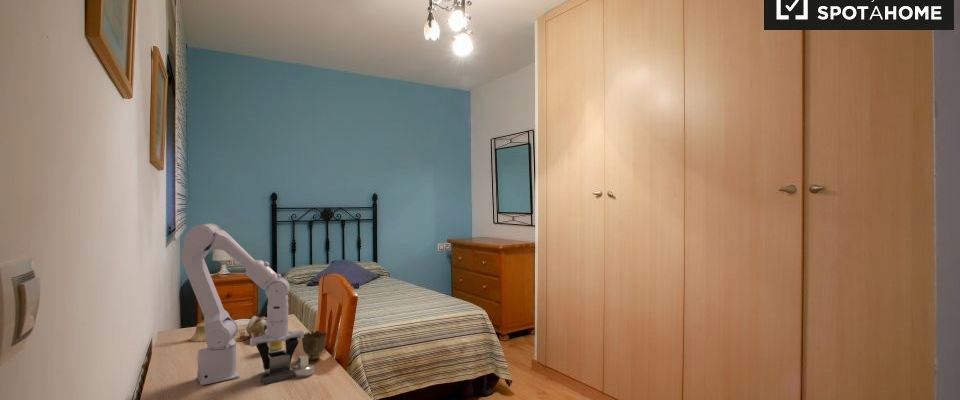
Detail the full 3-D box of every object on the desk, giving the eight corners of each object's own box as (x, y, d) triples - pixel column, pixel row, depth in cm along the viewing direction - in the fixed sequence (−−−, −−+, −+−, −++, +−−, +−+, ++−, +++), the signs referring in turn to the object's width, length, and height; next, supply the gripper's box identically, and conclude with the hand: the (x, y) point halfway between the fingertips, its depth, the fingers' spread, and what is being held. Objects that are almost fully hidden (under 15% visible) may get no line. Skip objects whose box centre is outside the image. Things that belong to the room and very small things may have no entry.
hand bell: (212, 341, 164) (212, 296, 164) (186, 342, 162) (186, 297, 162) (219, 334, 172) (220, 292, 172) (195, 336, 170) (195, 293, 170)
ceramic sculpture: (268, 308, 177) (285, 317, 167) (267, 330, 177) (285, 341, 167) (238, 313, 169) (255, 323, 159) (238, 337, 169) (254, 348, 159)
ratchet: (264, 386, 124) (264, 368, 124) (259, 380, 129) (259, 362, 129) (317, 374, 133) (317, 357, 133) (309, 368, 138) (310, 352, 138)
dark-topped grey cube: (269, 376, 131) (269, 358, 131) (264, 370, 135) (264, 353, 135) (289, 371, 135) (290, 354, 135) (284, 366, 139) (284, 349, 139)
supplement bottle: (285, 348, 157) (285, 320, 157) (276, 354, 151) (276, 324, 151) (270, 348, 157) (270, 319, 157) (261, 353, 152) (261, 323, 152)
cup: (331, 357, 148) (331, 332, 148) (312, 364, 142) (312, 338, 142) (315, 353, 152) (315, 329, 152) (296, 360, 146) (296, 334, 146)
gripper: (254, 326, 127) (253, 375, 127) (307, 319, 137) (306, 364, 137) (248, 321, 133) (247, 368, 133) (299, 314, 142) (298, 358, 142)
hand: (277, 366), depth 135 cm, fingers closed on dark-topped grey cube, 6 cm apart
